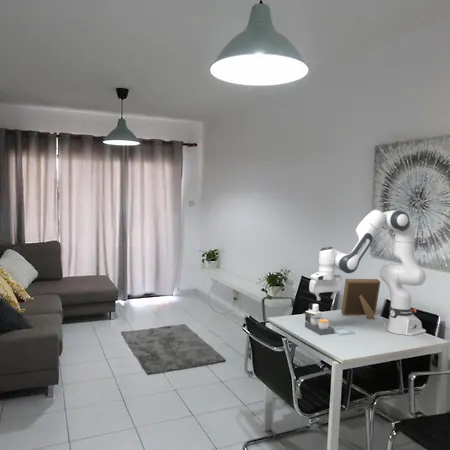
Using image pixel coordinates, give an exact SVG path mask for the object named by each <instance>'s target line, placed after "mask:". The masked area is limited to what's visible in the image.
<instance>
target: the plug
mask: <svg viewBox="0 0 450 450" xmlns="http://www.w3.org/2000/svg"><path fill="white" fill-rule="evenodd" d="M318 321H319V323H318V327H319V328H321V329H327V328H328V326H330V325H329V322H330V321H329V320H327V319H325V318H321V319H320V320H318Z"/></svg>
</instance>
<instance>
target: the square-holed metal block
mask: <svg viewBox="0 0 450 450" xmlns="http://www.w3.org/2000/svg"><path fill="white" fill-rule="evenodd" d="M304 328H306V329H307V330H310V331H311V332H314V333H315V334H317V335H318V336H327V335H334V334H335V333H334V328H335V327H331V326H330V325H328V328H327V329H321V328H319V327H318V325H313V324H311V321H310V322H308V321H305V323H304Z"/></svg>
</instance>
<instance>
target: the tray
mask: <svg viewBox="0 0 450 450" xmlns="http://www.w3.org/2000/svg"><path fill="white" fill-rule="evenodd" d="M333 328H334V334H336V335H338V336H340V337H341V336H350V335H356V332H355V331H353V330H351V329H349V328H347V327H345V326H343V327H341V326H340V327H333ZM340 330H345V331H347V332H342V333H341V332H339V331H340Z"/></svg>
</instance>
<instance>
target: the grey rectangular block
mask: <svg viewBox="0 0 450 450" xmlns="http://www.w3.org/2000/svg"><path fill="white" fill-rule="evenodd" d="M320 318H321V319H322V316H321V317H319V316H317V315H315V316H311V324H313V325H318V323H319V321H318V320H320Z"/></svg>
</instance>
